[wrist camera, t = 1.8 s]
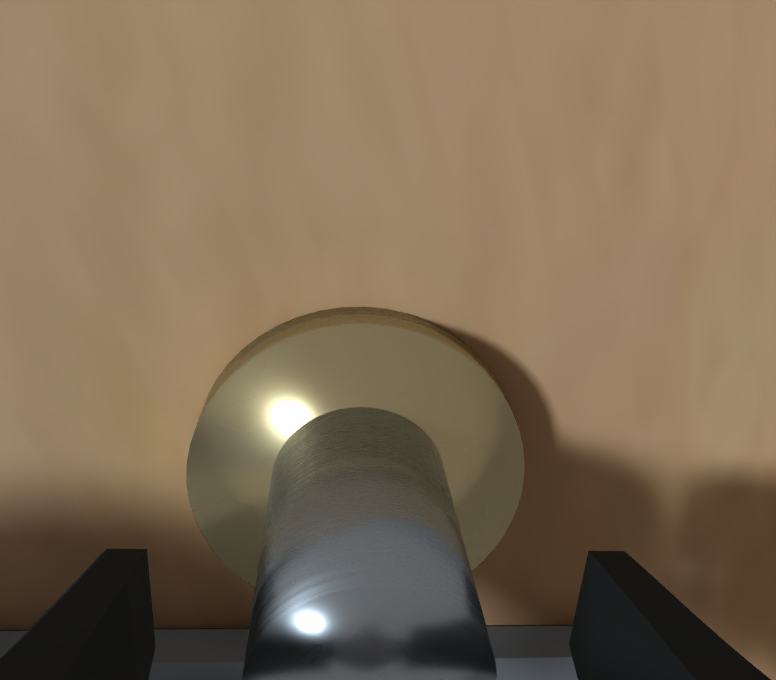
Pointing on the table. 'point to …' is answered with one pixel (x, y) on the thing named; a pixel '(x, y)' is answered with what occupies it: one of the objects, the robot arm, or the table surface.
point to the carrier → (228, 646)
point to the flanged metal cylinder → (358, 495)
